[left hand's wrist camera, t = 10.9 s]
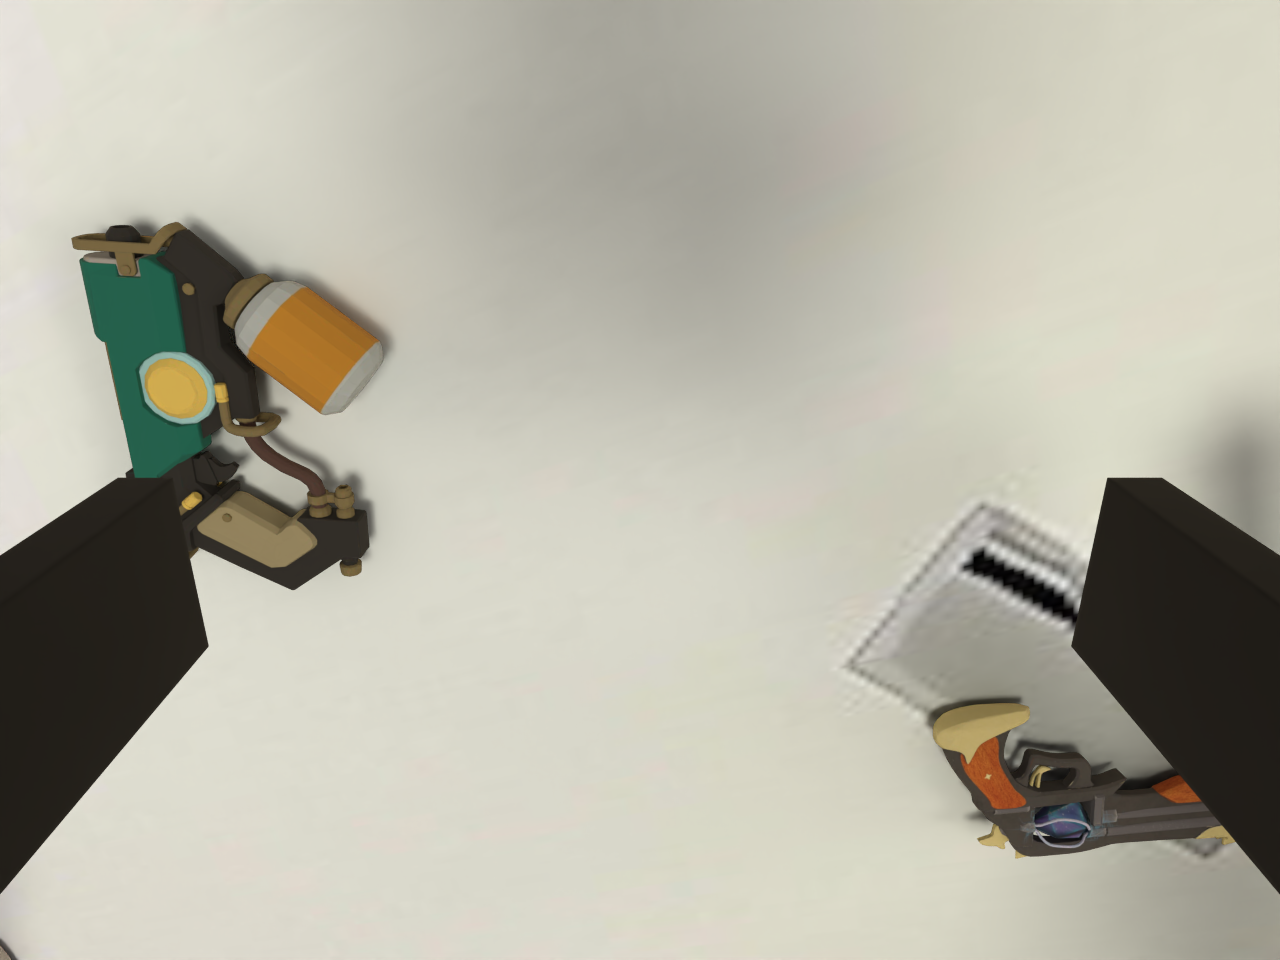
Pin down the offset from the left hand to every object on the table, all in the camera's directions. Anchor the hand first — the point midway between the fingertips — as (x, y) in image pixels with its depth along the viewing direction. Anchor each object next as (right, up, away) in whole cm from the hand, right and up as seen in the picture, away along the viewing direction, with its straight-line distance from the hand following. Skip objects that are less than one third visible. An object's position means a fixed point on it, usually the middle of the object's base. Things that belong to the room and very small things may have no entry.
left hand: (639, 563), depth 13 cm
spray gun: (-19, +5, +30) cm, 36 cm away
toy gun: (+26, -15, +38) cm, 49 cm away
